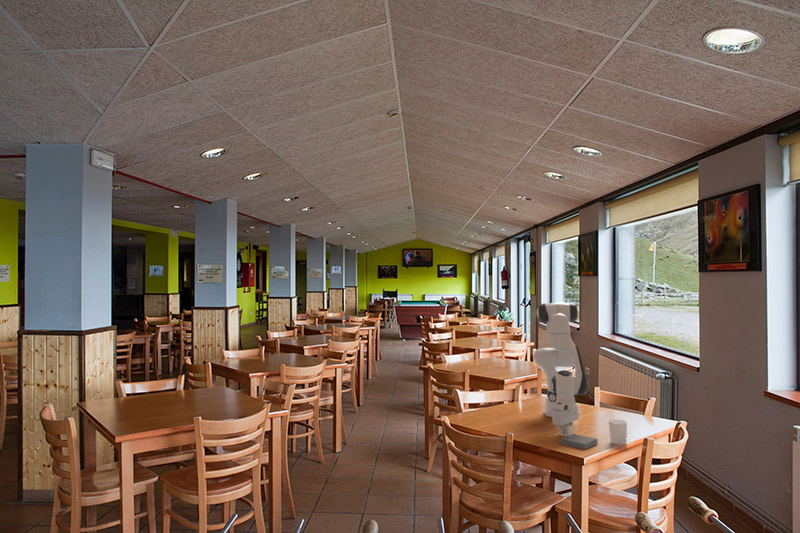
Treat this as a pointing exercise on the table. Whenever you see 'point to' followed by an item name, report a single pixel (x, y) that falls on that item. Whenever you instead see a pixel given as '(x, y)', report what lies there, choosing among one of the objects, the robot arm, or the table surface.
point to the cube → (567, 430)
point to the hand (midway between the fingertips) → (566, 431)
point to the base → (579, 441)
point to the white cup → (618, 431)
